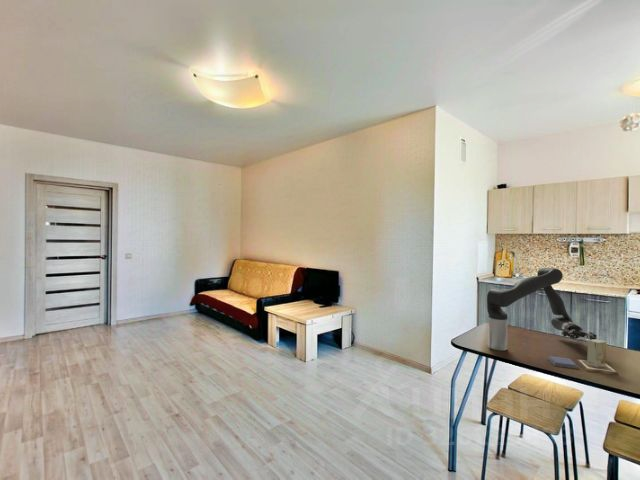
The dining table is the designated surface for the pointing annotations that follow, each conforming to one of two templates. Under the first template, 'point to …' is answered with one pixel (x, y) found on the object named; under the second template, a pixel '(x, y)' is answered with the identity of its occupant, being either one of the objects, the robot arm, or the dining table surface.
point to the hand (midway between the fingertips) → (583, 338)
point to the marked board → (606, 369)
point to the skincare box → (596, 353)
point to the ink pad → (562, 362)
